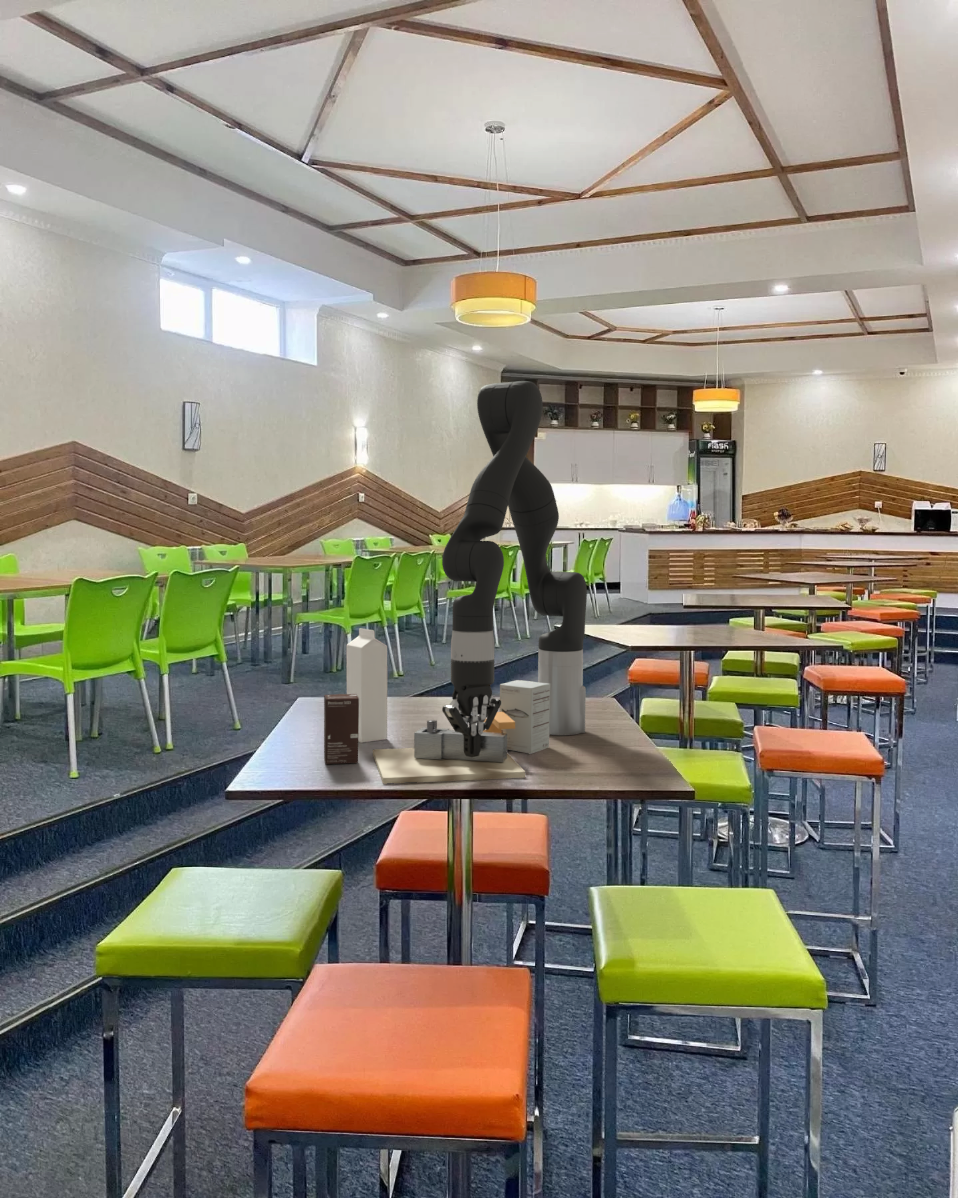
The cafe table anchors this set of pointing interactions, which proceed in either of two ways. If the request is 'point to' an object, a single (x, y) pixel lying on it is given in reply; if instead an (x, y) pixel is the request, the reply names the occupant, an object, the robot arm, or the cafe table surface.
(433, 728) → the pintle
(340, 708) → the box
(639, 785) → the cafe table surface
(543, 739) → the supplement box
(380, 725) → the milk
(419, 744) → the link
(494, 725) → the block
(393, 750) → the board
